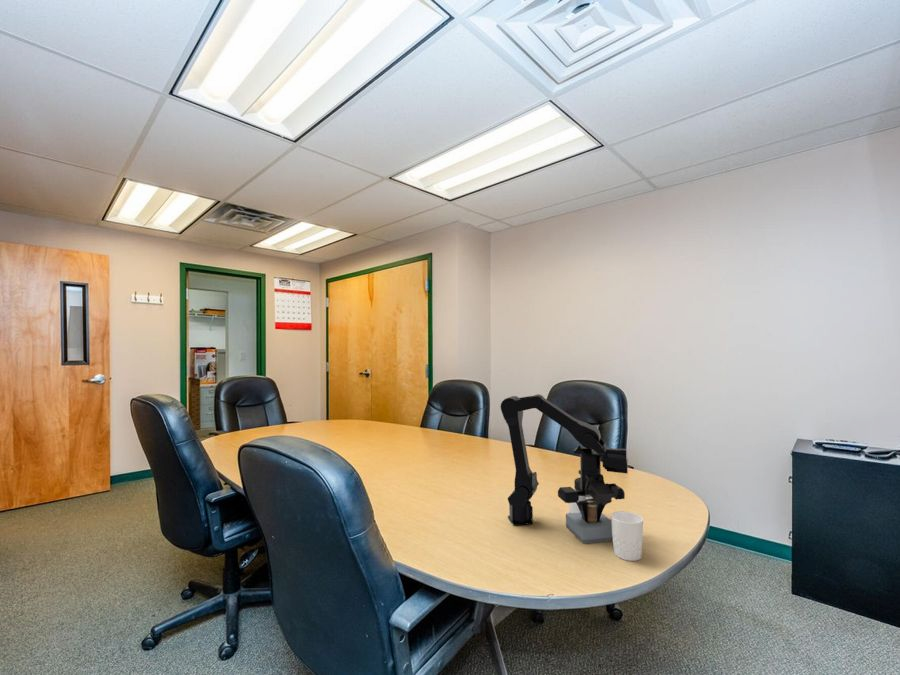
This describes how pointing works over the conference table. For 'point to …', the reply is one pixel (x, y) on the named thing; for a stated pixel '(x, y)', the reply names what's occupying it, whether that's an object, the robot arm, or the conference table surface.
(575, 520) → the socket block
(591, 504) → the pin
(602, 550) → the conference table surface
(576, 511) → the medicine bottle
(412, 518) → the conference table surface
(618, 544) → the white cup
